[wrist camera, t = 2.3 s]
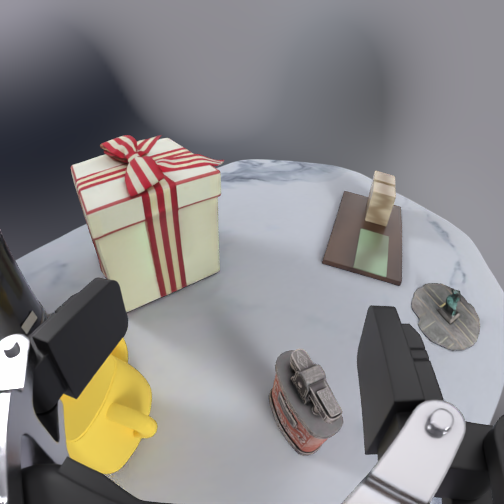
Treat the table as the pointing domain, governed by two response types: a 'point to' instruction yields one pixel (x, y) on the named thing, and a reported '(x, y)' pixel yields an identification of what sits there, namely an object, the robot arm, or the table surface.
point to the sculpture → (446, 316)
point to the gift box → (151, 215)
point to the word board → (369, 233)
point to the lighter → (303, 402)
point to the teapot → (109, 415)
